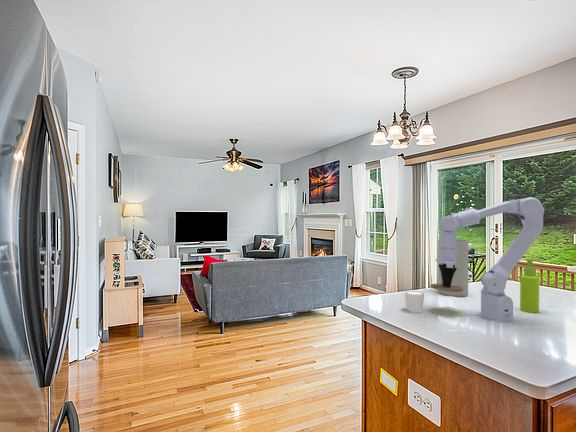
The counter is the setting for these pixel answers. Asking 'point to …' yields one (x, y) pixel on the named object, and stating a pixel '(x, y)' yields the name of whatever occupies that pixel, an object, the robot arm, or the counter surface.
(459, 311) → the sage mat
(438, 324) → the counter surface
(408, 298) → the white cup
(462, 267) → the cylinder vase
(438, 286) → the walnut lid
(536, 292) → the soap dispenser
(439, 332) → the counter surface
